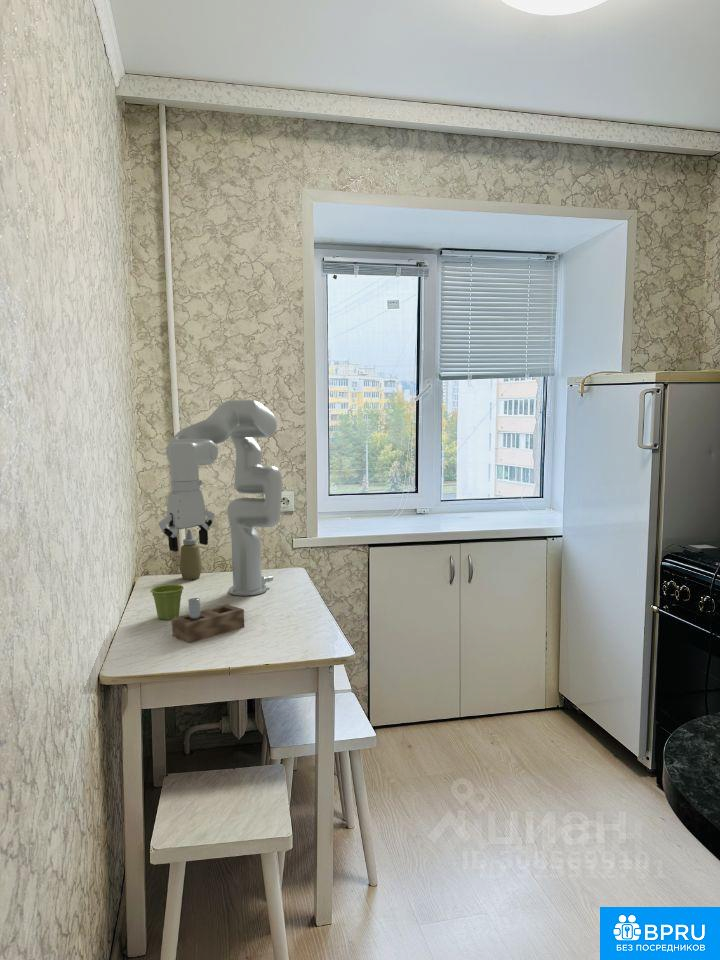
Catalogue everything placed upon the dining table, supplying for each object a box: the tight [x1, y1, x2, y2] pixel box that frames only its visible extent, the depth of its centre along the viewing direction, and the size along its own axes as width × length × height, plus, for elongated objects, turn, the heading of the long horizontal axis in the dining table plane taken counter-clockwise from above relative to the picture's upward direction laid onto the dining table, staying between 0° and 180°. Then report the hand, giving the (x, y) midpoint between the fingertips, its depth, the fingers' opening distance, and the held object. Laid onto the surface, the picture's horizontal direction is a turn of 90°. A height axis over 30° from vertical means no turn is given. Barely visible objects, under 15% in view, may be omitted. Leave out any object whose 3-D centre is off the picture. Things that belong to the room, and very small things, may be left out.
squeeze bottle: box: [179, 528, 203, 581], centre depth 250 cm, size 8×8×18 cm
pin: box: [187, 597, 201, 621], centre depth 186 cm, size 3×3×10 cm
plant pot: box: [150, 584, 184, 621], centre depth 203 cm, size 9×9×9 cm
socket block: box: [171, 604, 245, 644], centre depth 189 cm, size 18×8×5 cm, turn 137°
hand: (189, 547), depth 191 cm, fingers open, 9 cm apart
